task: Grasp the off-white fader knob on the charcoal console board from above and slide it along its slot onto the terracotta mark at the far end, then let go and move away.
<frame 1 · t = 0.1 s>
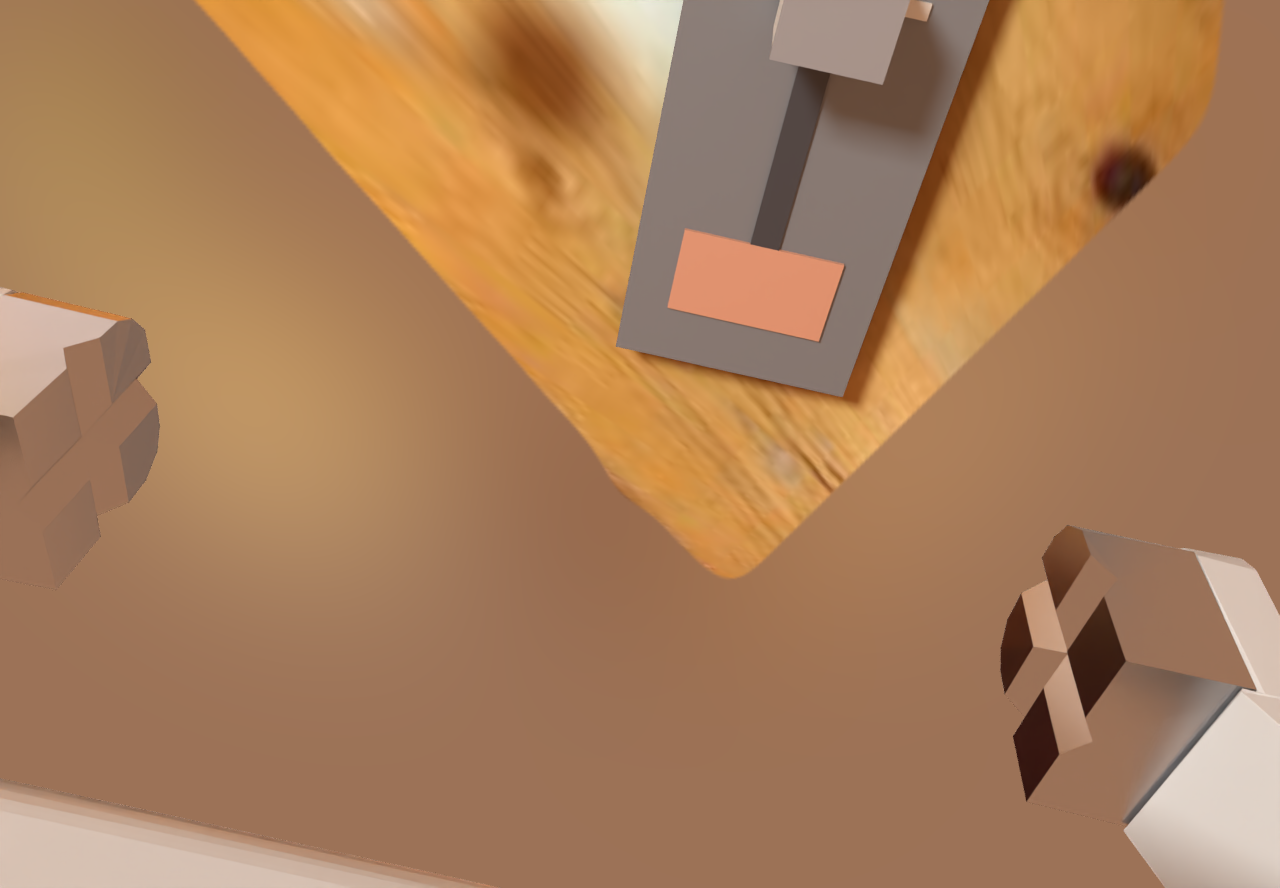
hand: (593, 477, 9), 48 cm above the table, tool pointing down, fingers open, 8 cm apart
fader knob: (838, 8, 46), point 6 cm above the table, slide at 0.0 cm
console board: (791, 134, 55), on the table
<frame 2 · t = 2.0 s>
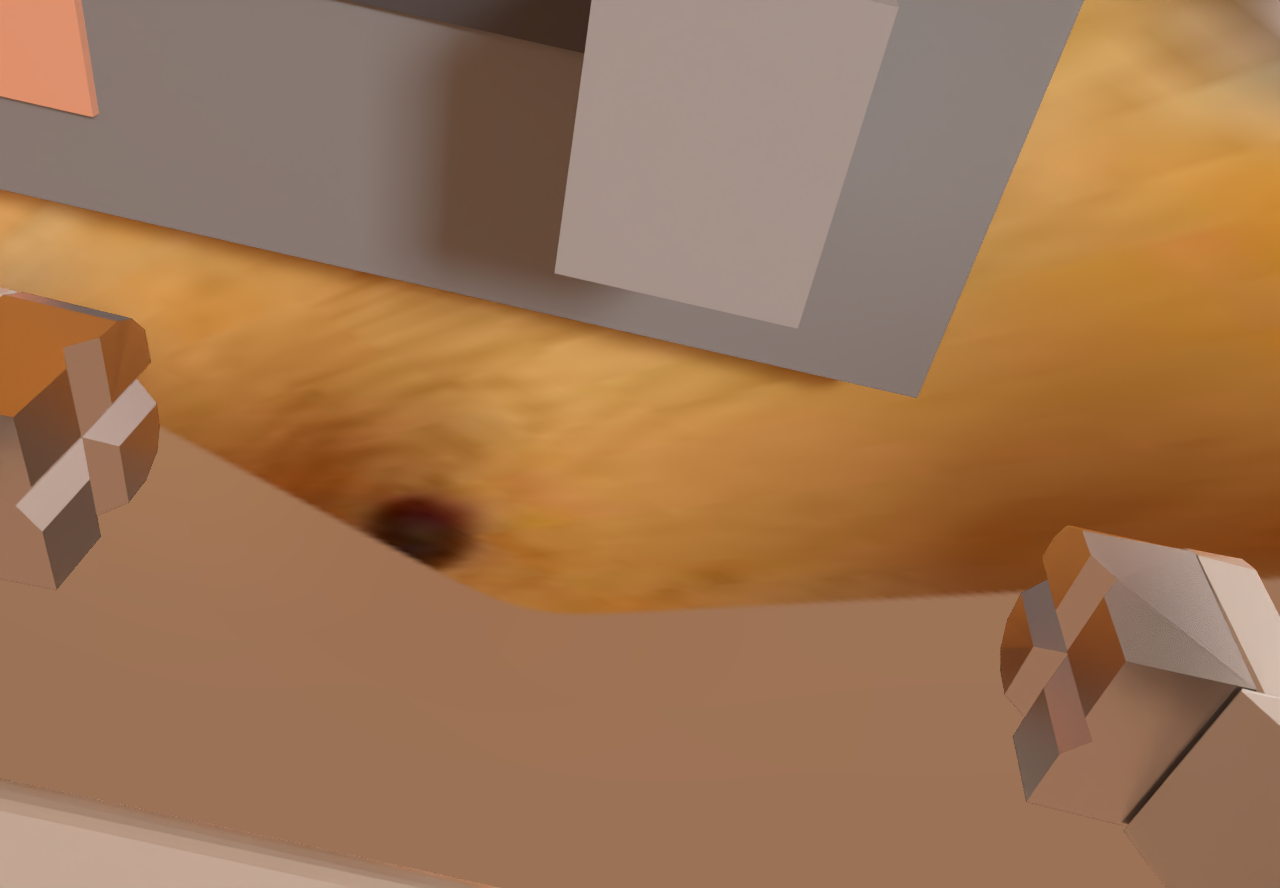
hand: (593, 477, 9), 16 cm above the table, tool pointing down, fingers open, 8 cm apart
fader knob: (723, 95, 17), point 6 cm above the table, slide at 0.0 cm
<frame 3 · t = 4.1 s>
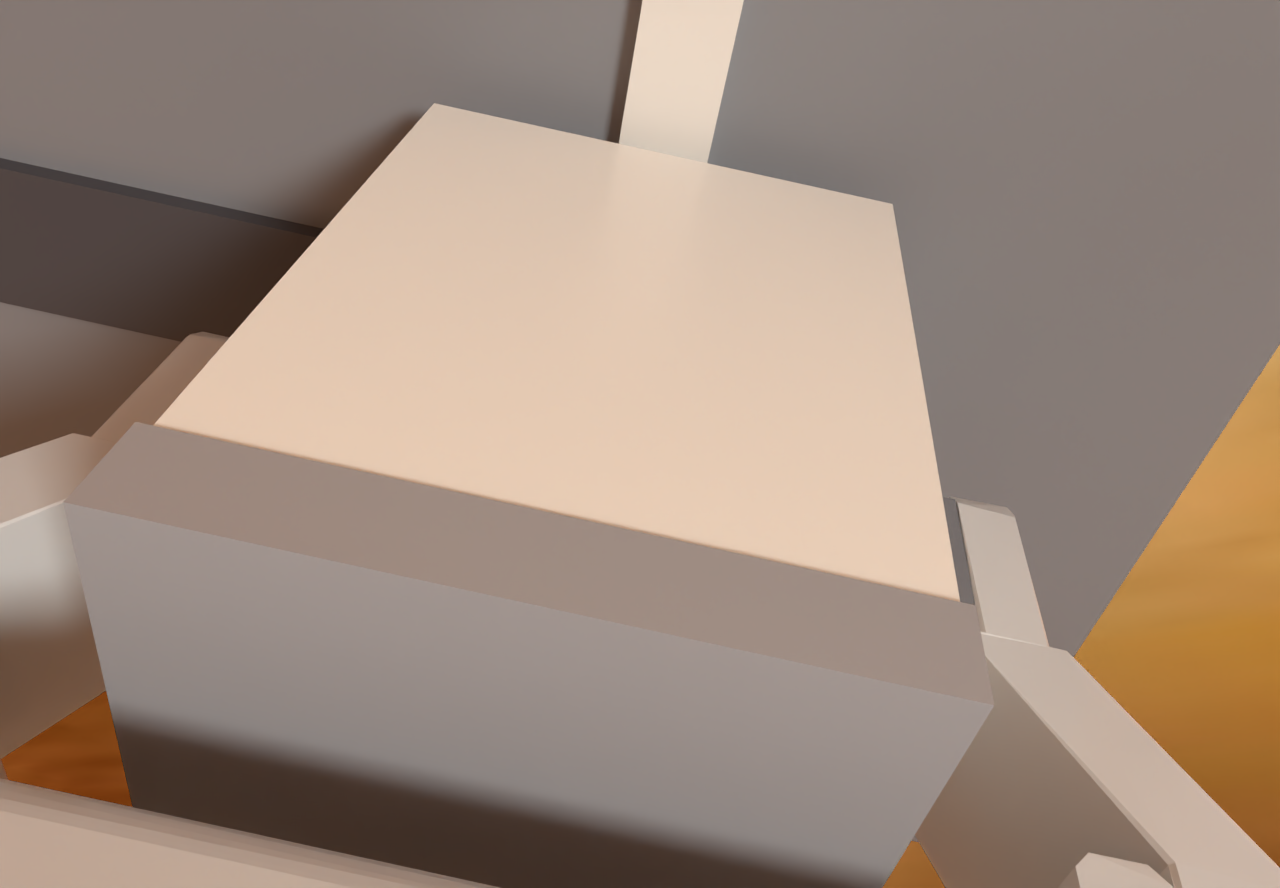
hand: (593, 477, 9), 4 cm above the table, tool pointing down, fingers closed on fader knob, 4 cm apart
fader knob: (567, 578, 8), point 6 cm above the table, slide at 0.0 cm, touching gripper
console board: (15, 116, 13), on the table
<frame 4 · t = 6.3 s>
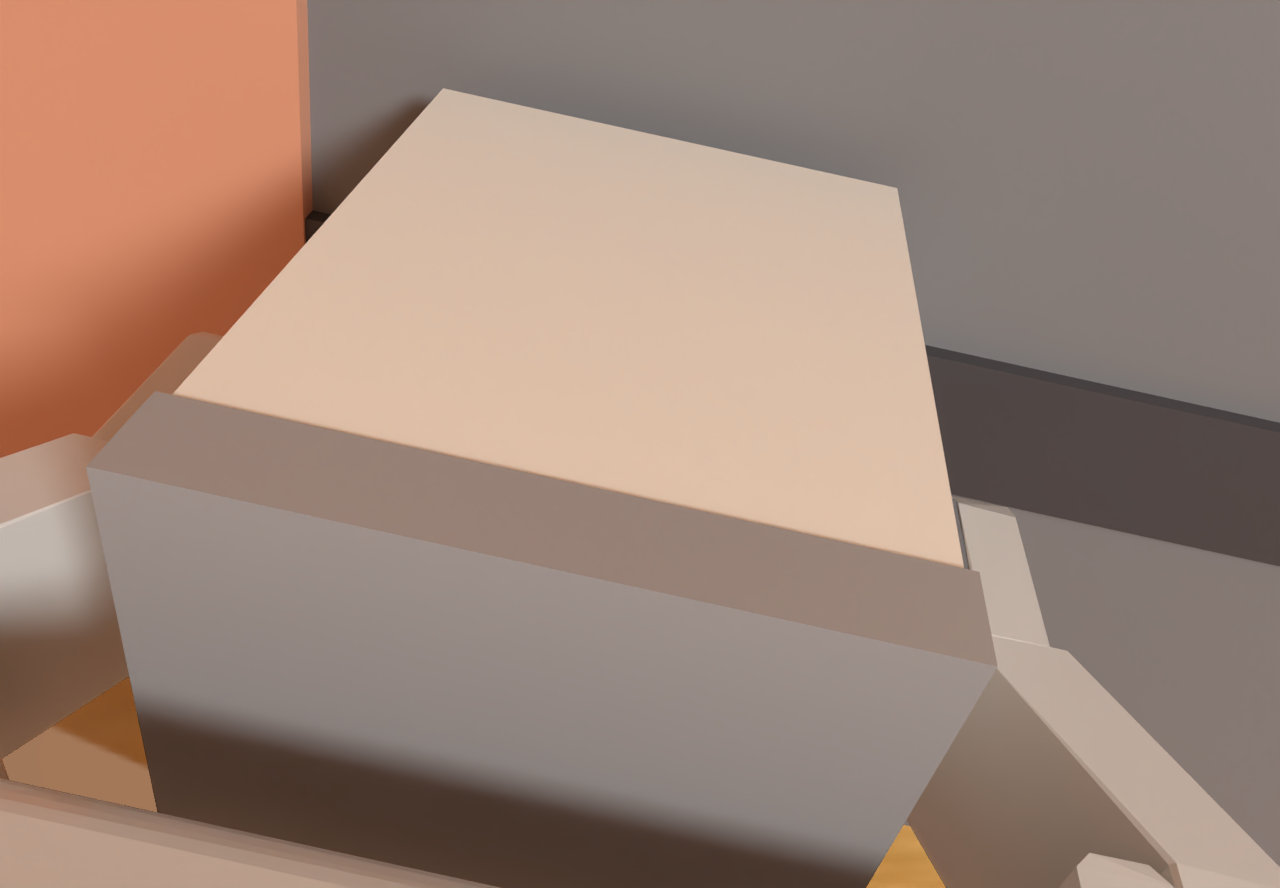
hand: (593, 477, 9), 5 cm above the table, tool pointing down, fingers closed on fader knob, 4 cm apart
fader knob: (575, 557, 8), point 6 cm above the table, slide at 10.1 cm, touching gripper
console board: (824, 281, 13), on the table
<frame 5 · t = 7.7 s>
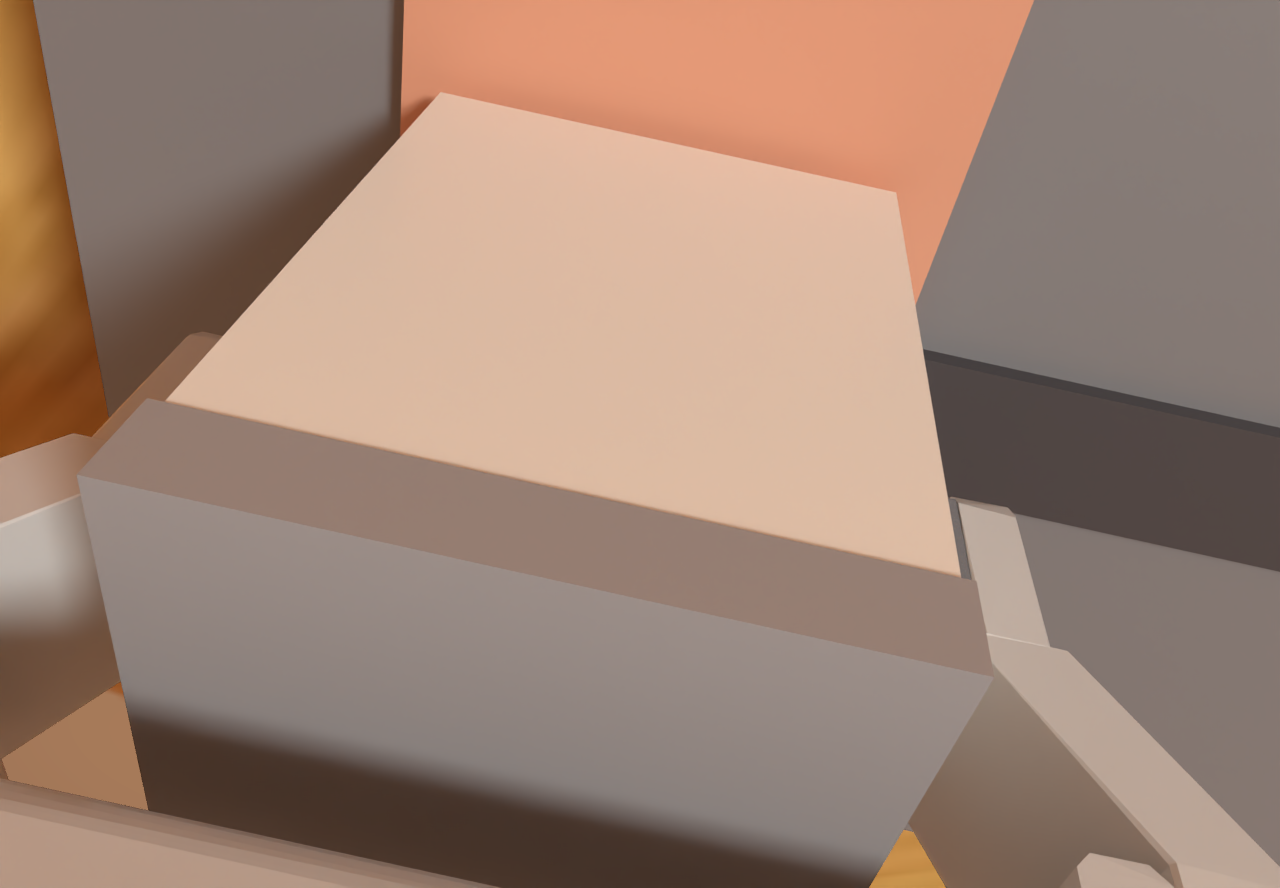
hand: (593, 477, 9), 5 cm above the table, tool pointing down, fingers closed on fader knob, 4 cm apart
fader knob: (572, 563, 8), point 6 cm above the table, slide at 16.1 cm, touching gripper
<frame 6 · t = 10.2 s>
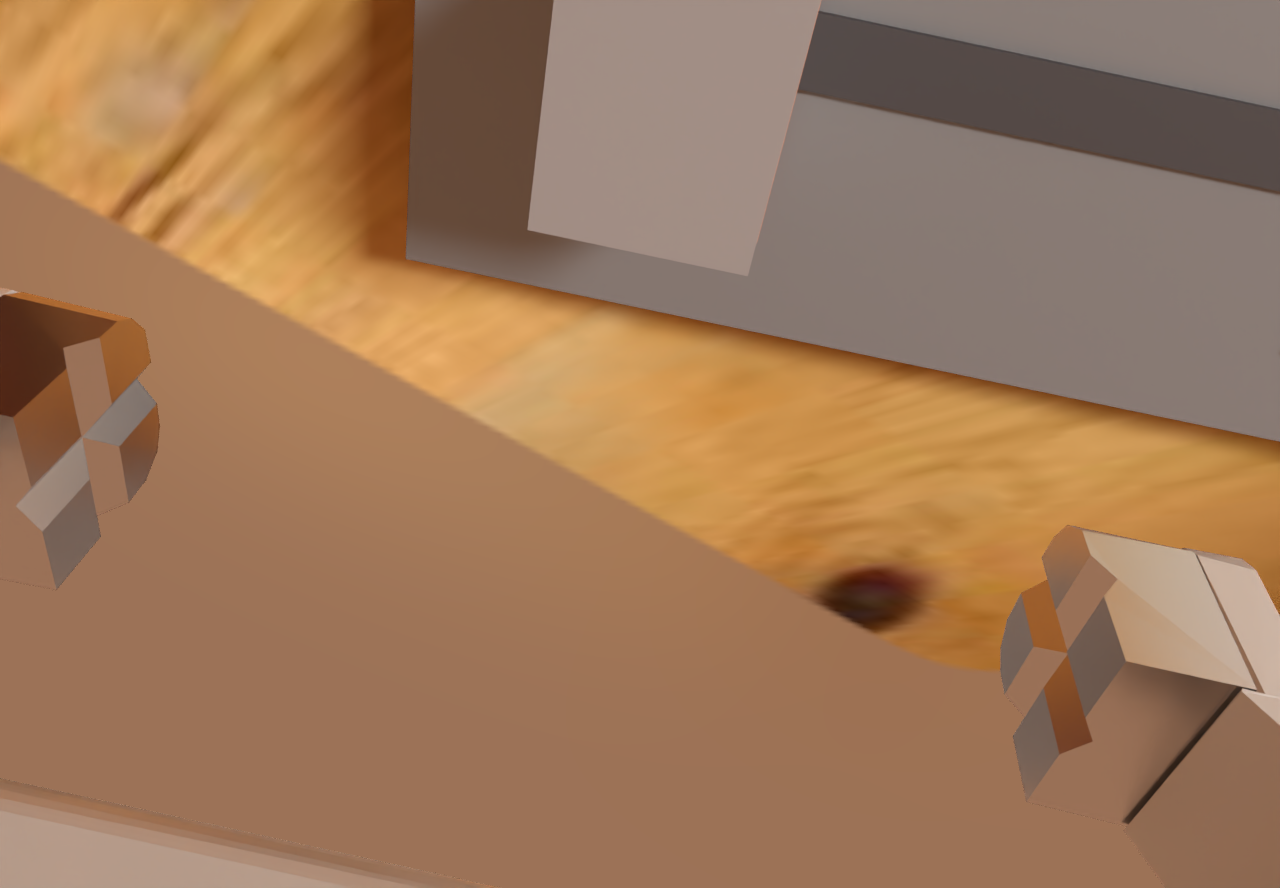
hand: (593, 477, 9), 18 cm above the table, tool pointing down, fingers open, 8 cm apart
fader knob: (676, 68, 19), point 6 cm above the table, slide at 16.1 cm
console board: (1035, 67, 24), on the table
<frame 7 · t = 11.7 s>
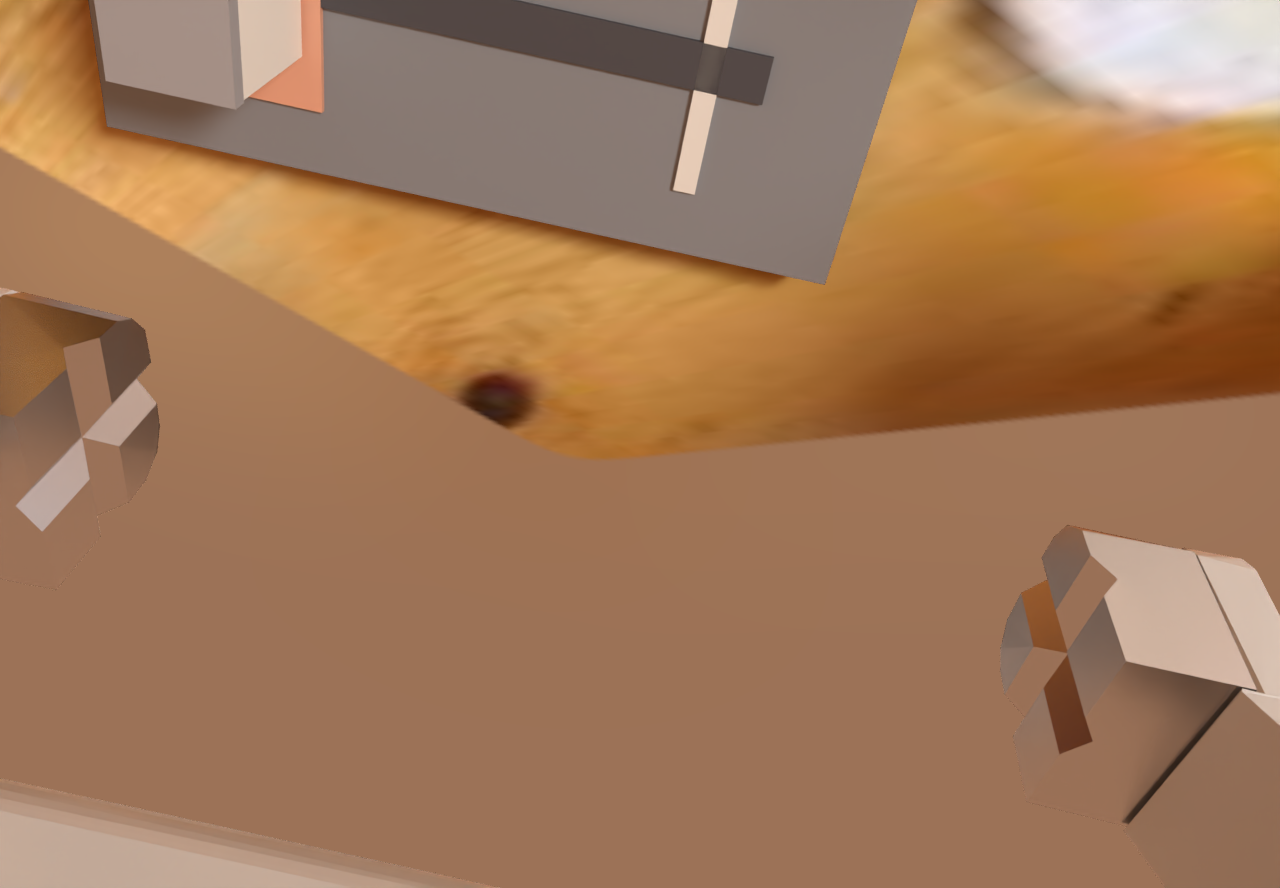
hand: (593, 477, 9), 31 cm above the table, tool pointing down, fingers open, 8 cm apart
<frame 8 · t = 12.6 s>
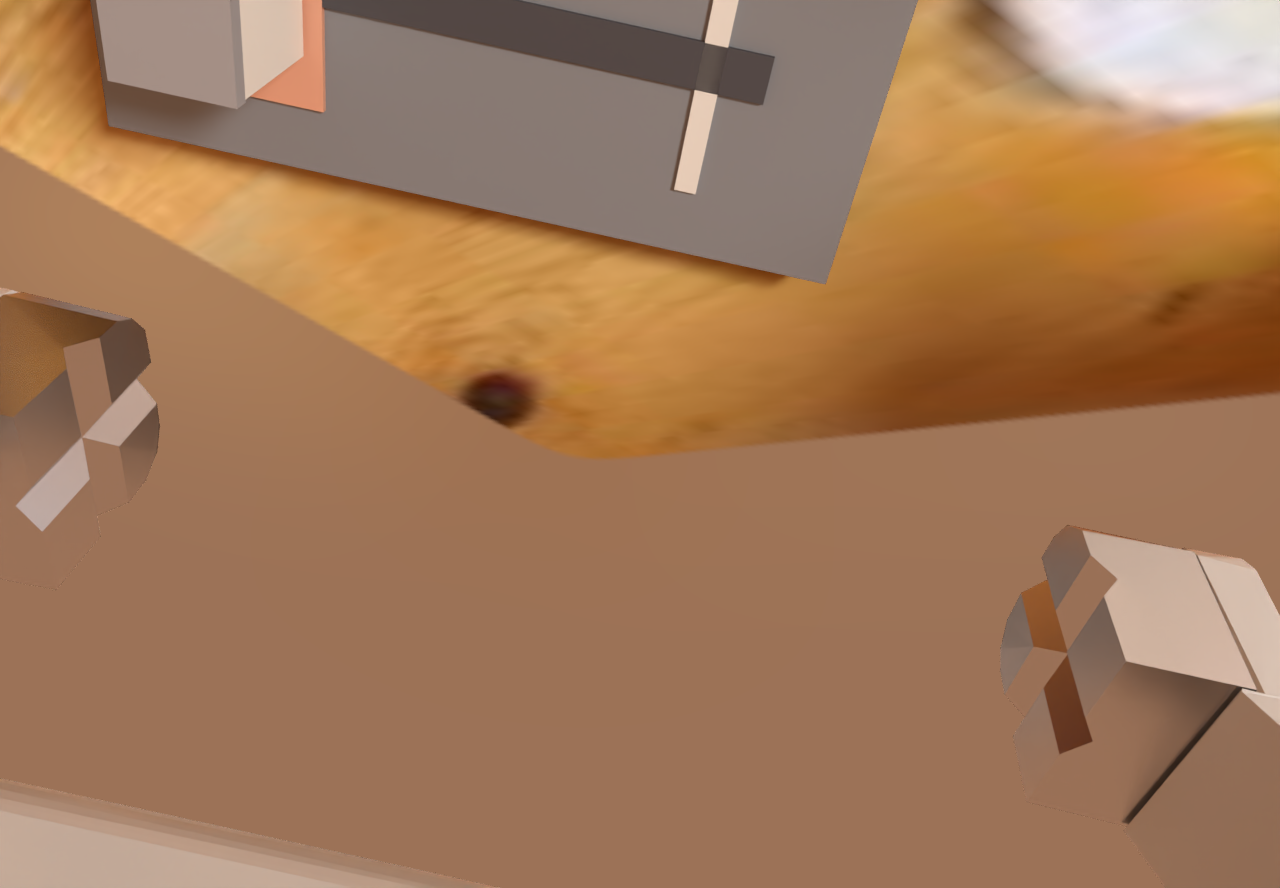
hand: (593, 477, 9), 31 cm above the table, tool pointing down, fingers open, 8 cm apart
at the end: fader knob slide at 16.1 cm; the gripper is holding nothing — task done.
